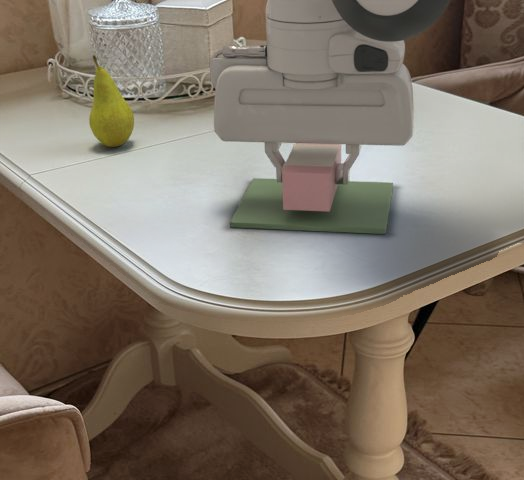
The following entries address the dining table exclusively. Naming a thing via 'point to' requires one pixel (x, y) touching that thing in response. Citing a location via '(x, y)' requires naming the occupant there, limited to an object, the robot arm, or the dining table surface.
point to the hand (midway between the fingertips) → (313, 181)
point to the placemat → (336, 220)
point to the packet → (310, 177)
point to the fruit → (109, 111)
